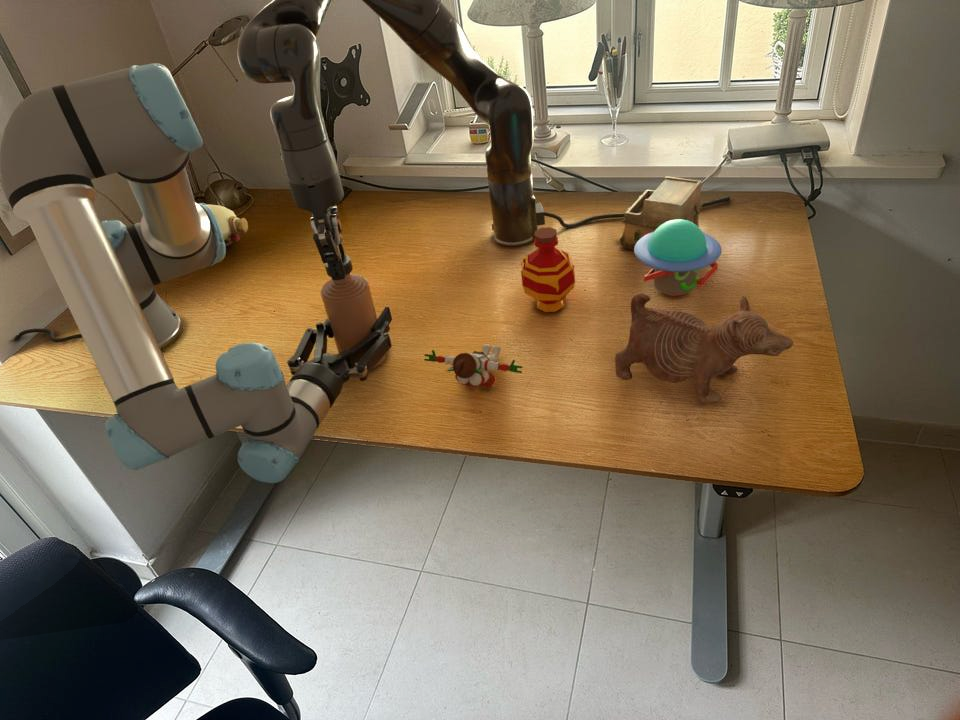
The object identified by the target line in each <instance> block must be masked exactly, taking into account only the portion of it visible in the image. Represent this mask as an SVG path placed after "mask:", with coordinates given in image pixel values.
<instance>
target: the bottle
mask: <svg viewBox="0 0 960 720" xmlns="http://www.w3.org/2000/svg"><path fill="white" fill-rule="evenodd" d="M370 288H371V287H370V284H369V281H368V279H366V278H365V277H364V276H363V275H360V274H356V273H351V272H350V273H349V274H348V275H346V276H345V279H341V280H332V278H331V279H329V280H328V281H326V282H325V283H324V284H323V285H322V287H321V289H320V297H321V299H322V303H323V307H324V309H325V313H326V316H327V318H328V320H329V323H330V326H331V330H332V333H333V336H334V337H333V341H334V342H335V346H336V349H337V352H338V353H337V354H339V353H341V352H342V351H343V350H345V349H346V350H349V349H350V348H352V347H353V346H354V345H356V344H357V343H359V342H360V341H361V340H363V339H364V338H366V337H367V336H368V335H370V334H371V333H372V329H371V328H372V327H373V325H374V324H375V322H376V320H377V319H378V316H377V311H376V308H375V304H374V299H373V296H372V292H371V289H370ZM386 356H387V353H386V354H385V355H384V356H383V357H382V358H381V359H380V361H379V362H378V363H377V364H376V365H375V366H374V367H373V369H375V368H377V367H378V366H380V365H382V363H383V362H385V359H386Z"/></svg>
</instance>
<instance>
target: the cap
mask: <svg viewBox="0 0 960 720" xmlns="http://www.w3.org/2000/svg"><path fill="white" fill-rule="evenodd" d="M341 260H342V263H343V267H344V271H345V274H346V275H348V274H349V273H350V274H351V273H352V271H353V270H354V268H353V264H352V260H351V257H350V256H349V255H347V254H345V255H341ZM323 265H324V268H325V272H326V275H327V276H328V277H329V278H331V274H330V271H329V268H328V264H327V263H323ZM346 275H345V276H346Z"/></svg>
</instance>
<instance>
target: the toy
mask: <svg viewBox="0 0 960 720" xmlns="http://www.w3.org/2000/svg"><path fill="white" fill-rule="evenodd" d="M491 348H492V353H491V354H490V352H491ZM501 349H502V346H499V345H493V346H492V345H490V344H488V343H486V344H483V345H482V351H481V350H473V352H471V353H469V352H462V353H459V354H457V355H456V356H452V355H451V356H449V355H446V356H442V355H437V354H436V351H435V350H434V349H431V352H432V354H428V353H425V354H424V357H428V358H424V359H423V361H425V362H431V363H436V362H437V363H439V364H444V363H445V365H446V366H448V365H449V366H450V367H449V368H447V369H445V370H444V372H447V373H448V372H449V373H450V372H454V374H455V377H454V378H455V380H456V381H457V383H459V384H460V385H462V386H465V387H469V388H470V387H473V388H474V387H475V388H476V387H480V386H482V387H483V389H488V388H492V387H493V386H494V385H495V382H496V375H494V374H492V373H489V372H488V371H491V372H492V371H493V372H494V371H496V372H499V371H503V372H510V373H517V374H522V373H523V371H522V370H518V369H523V366H522V365H516V364H515V362H516V360H515V359H513V360H512V361H511V362H510V364H507V363H500V352H501Z"/></svg>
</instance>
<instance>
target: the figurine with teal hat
mask: <svg viewBox="0 0 960 720" xmlns="http://www.w3.org/2000/svg"><path fill="white" fill-rule="evenodd" d="M722 250H723V249H722V246H721V244H720V243H719V241H718V240H717V239H716V238H715V237H713V236H712V235H710V234H708V233H705V232H703V230H702V229H701V228H700V226H699V227H698V226H697V225H696V224H694V223H692V222H690V221H688V220H682V219H675V220H670V221H667V222H665V223H664V224H662V225H660V226H659V227H658V228H657V229H656V230H655V231H654V232H651V233H649V234H647V235H645V236H643V237H642V238H641V239H640V240H638V242H637V243H636V245H635V247H634V250H633V252H634V256H635V257H636V258H637V259H638V261H640V262H641V263H642V264H644V265H645V266H647V267H650V268H651V269H650V270H649V271H648V272H647V273H646V274H645V275H644V276H643V282H644V283H645V282H648V281H651V280H653V287H654V289H656V291H658V292H659V293H662V294H666V295H668V296H671V297H678V296H682V295H685V294H689V293H691V292H693V291H694V290H695V289H696V287H697V286H699V287H703V286H704V285H705V283H706V282H708V280H709V279H710V278H711V277H712V276H713V275H714V274H715V272H717V270H718V266H719V264H718V262H717V260H718V259H719V258H720V257H721V255H722ZM707 267H711V268H710V270H709V271H707V272H706V274H705V275H704V276H703V277H700V278H699V277H698V273H699V272H701V271H703V269H704V268H707Z"/></svg>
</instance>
